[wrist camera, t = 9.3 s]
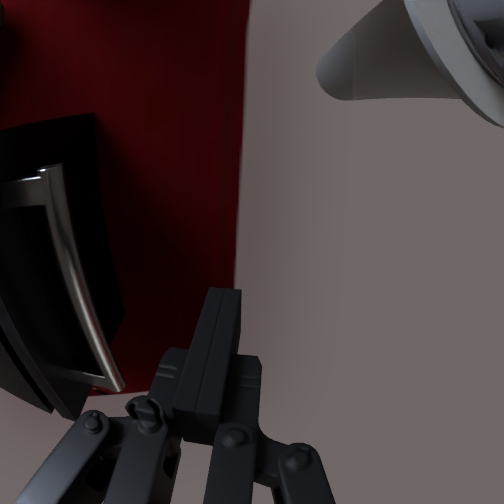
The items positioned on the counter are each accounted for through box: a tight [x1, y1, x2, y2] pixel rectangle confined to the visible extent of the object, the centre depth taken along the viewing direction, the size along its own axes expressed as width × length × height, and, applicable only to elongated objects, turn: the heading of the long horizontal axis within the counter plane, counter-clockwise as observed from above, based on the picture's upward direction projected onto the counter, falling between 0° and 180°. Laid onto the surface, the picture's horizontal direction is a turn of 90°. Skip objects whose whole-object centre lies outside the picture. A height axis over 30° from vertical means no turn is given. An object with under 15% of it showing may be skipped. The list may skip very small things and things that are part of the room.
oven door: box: [0, 113, 126, 421], centre depth 17 cm, size 6×20×14 cm, turn 178°
